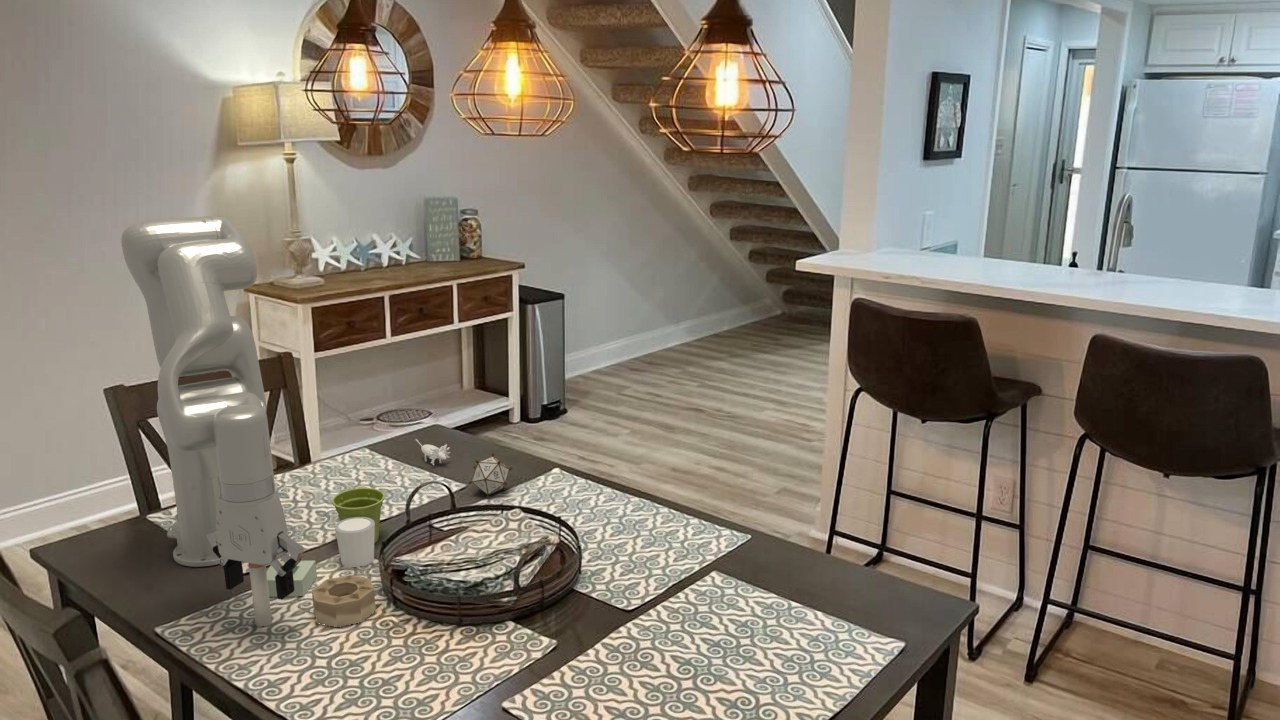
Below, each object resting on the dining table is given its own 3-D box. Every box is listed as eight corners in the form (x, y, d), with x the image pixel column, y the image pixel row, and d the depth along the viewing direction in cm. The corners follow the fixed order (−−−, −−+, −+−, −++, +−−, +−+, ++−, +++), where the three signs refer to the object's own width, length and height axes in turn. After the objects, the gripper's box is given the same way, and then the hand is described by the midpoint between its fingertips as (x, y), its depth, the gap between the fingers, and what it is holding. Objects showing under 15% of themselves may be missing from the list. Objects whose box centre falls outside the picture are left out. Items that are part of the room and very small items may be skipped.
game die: (490, 506, 204) (495, 460, 207) (517, 501, 198) (522, 454, 202) (457, 496, 197) (463, 449, 201) (484, 491, 192) (490, 443, 196)
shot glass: (366, 570, 168) (363, 534, 166) (330, 567, 169) (326, 530, 167) (384, 553, 174) (381, 517, 172) (349, 550, 175) (346, 514, 174)
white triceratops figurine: (454, 465, 216) (453, 445, 215) (434, 471, 213) (432, 450, 212) (426, 451, 225) (425, 432, 224) (406, 457, 221) (404, 437, 220)
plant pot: (396, 531, 183) (393, 489, 181) (374, 554, 174) (371, 509, 172) (350, 528, 184) (346, 486, 182) (326, 550, 175) (322, 506, 173)
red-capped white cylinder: (252, 625, 150) (243, 555, 147) (262, 617, 152) (254, 548, 149) (264, 628, 149) (256, 557, 146) (275, 620, 152) (267, 550, 148)
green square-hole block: (261, 596, 159) (259, 580, 158) (276, 576, 166) (274, 560, 165) (303, 596, 159) (301, 580, 158) (317, 576, 166) (315, 560, 165)
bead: (303, 620, 151) (300, 598, 150) (338, 594, 160) (336, 572, 159) (351, 631, 148) (349, 607, 147) (385, 603, 157) (383, 581, 156)
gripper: (183, 489, 144) (198, 593, 149) (278, 503, 139) (290, 611, 143) (220, 472, 151) (233, 571, 155) (311, 485, 146) (322, 588, 150)
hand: (260, 590), depth 149 cm, fingers open, 9 cm apart
